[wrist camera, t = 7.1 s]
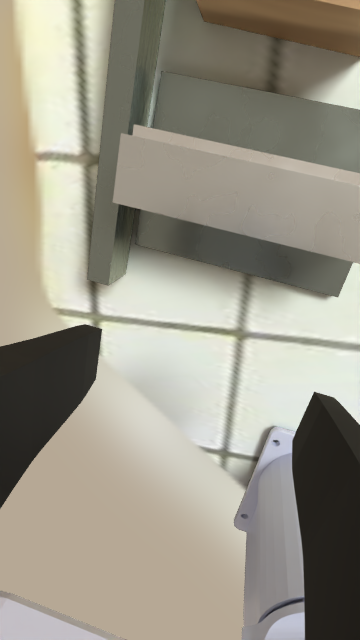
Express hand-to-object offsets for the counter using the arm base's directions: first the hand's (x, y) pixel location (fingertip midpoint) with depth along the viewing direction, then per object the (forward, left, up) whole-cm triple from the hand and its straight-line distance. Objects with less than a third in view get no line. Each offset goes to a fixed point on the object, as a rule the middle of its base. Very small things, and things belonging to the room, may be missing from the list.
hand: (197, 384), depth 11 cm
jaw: (+6, 0, -8) cm, 10 cm away
